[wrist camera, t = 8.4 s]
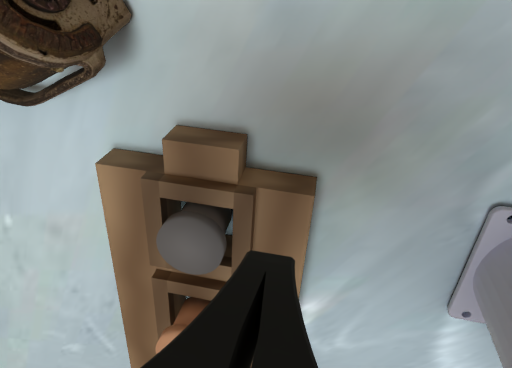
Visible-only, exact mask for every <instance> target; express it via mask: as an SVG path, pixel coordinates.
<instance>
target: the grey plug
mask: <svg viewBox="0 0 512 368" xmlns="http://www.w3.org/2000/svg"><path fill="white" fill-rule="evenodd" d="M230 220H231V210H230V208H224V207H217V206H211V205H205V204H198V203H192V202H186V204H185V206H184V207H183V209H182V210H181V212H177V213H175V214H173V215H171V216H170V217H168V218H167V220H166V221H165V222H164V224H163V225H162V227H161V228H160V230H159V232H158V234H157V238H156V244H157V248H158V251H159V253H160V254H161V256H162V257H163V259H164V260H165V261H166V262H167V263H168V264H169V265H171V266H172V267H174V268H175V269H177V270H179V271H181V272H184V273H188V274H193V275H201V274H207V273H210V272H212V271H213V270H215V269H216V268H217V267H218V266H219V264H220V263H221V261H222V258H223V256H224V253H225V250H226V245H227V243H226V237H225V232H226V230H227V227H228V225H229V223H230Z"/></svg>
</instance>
